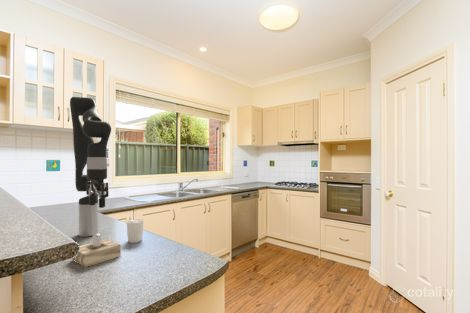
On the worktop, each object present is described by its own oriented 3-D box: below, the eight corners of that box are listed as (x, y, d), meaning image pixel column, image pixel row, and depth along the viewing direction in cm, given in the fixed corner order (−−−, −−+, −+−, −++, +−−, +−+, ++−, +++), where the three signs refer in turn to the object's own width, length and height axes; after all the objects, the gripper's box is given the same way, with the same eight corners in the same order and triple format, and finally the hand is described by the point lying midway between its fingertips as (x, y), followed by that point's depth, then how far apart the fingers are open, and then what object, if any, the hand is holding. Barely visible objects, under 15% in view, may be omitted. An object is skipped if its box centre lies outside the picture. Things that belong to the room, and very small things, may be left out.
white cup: (127, 239, 126) (127, 220, 127) (143, 237, 129) (143, 218, 129) (126, 244, 119) (126, 223, 119) (143, 242, 122) (143, 222, 122)
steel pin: (91, 258, 102) (91, 234, 102) (98, 256, 104) (98, 232, 104) (94, 260, 100) (94, 235, 100) (102, 257, 103) (102, 234, 103)
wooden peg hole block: (72, 260, 100) (72, 247, 100) (106, 249, 111) (106, 238, 111) (85, 267, 93) (85, 254, 93) (120, 255, 104) (120, 243, 104)
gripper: (79, 168, 104) (79, 205, 104) (95, 168, 95) (95, 209, 95) (98, 167, 110) (98, 203, 110) (114, 168, 102) (114, 206, 101)
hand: (97, 206), depth 103 cm, fingers open, 8 cm apart
